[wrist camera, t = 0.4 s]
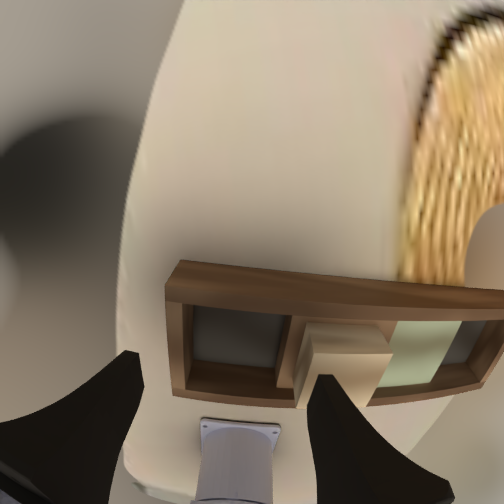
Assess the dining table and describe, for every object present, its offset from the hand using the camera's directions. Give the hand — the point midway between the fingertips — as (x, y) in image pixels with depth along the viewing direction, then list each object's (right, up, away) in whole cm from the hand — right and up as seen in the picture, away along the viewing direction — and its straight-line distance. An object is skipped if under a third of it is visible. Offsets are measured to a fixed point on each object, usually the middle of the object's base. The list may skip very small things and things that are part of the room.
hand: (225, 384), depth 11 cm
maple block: (+7, -2, +8) cm, 11 cm away
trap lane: (+10, -1, +10) cm, 15 cm away
